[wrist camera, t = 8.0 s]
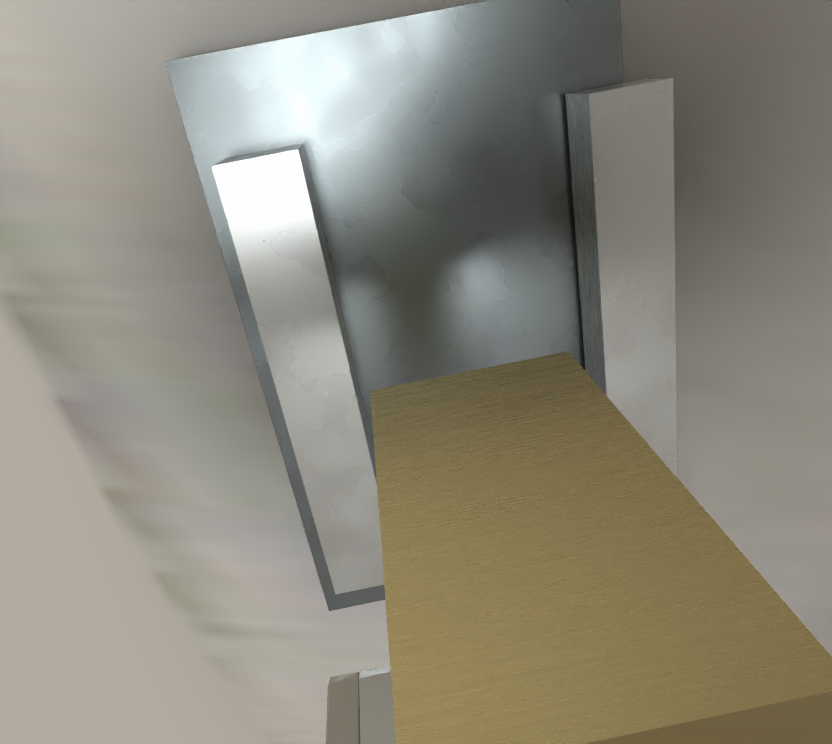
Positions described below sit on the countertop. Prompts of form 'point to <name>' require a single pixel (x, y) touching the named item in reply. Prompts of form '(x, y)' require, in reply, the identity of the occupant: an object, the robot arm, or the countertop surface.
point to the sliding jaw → (628, 249)
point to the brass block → (570, 579)
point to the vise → (392, 223)
